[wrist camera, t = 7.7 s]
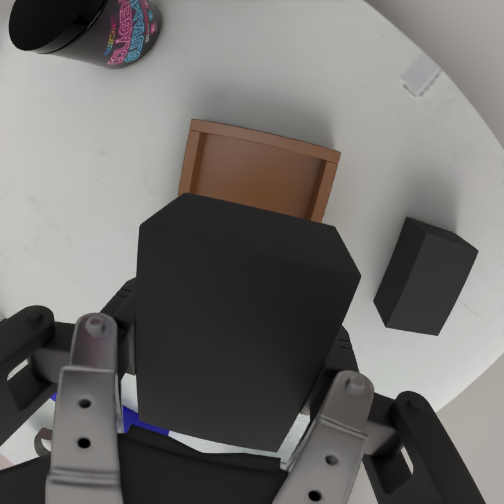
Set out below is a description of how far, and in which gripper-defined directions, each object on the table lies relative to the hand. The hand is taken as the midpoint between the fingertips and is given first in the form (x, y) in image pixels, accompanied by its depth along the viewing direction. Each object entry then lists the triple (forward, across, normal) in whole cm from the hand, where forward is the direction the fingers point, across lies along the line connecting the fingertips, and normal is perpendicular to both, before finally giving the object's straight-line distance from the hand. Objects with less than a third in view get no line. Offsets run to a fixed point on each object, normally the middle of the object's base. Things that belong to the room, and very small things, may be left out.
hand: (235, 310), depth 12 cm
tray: (+13, +1, +4) cm, 14 cm away
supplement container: (+13, +14, -13) cm, 23 cm away
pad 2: (+13, -14, +1) cm, 19 cm away
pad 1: (0, 0, 0) cm, 0 cm away
